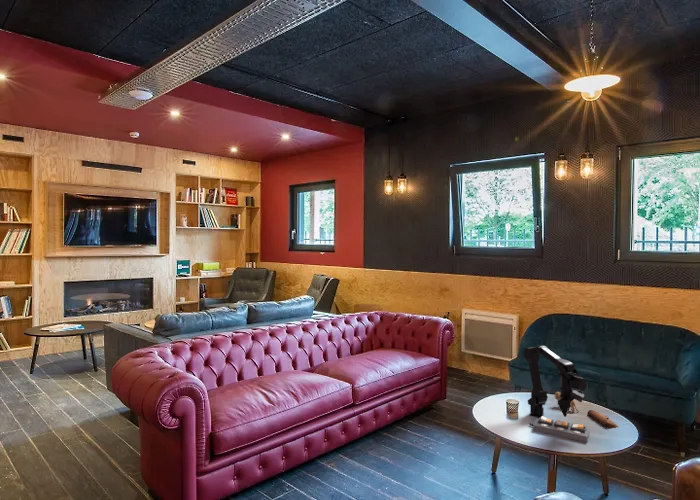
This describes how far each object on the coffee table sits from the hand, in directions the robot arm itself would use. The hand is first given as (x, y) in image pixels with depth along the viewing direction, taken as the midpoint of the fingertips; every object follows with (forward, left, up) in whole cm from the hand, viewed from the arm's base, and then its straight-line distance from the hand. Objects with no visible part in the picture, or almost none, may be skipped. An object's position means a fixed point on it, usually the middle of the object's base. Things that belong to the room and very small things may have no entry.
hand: (566, 413), depth 245 cm
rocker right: (+6, -4, -5) cm, 9 cm away
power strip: (-3, -7, -9) cm, 11 cm away
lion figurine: (-5, +31, -9) cm, 33 cm away
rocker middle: (-2, -4, -5) cm, 7 cm away
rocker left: (-10, -4, -5) cm, 12 cm away
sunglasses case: (+16, +22, -9) cm, 29 cm away
